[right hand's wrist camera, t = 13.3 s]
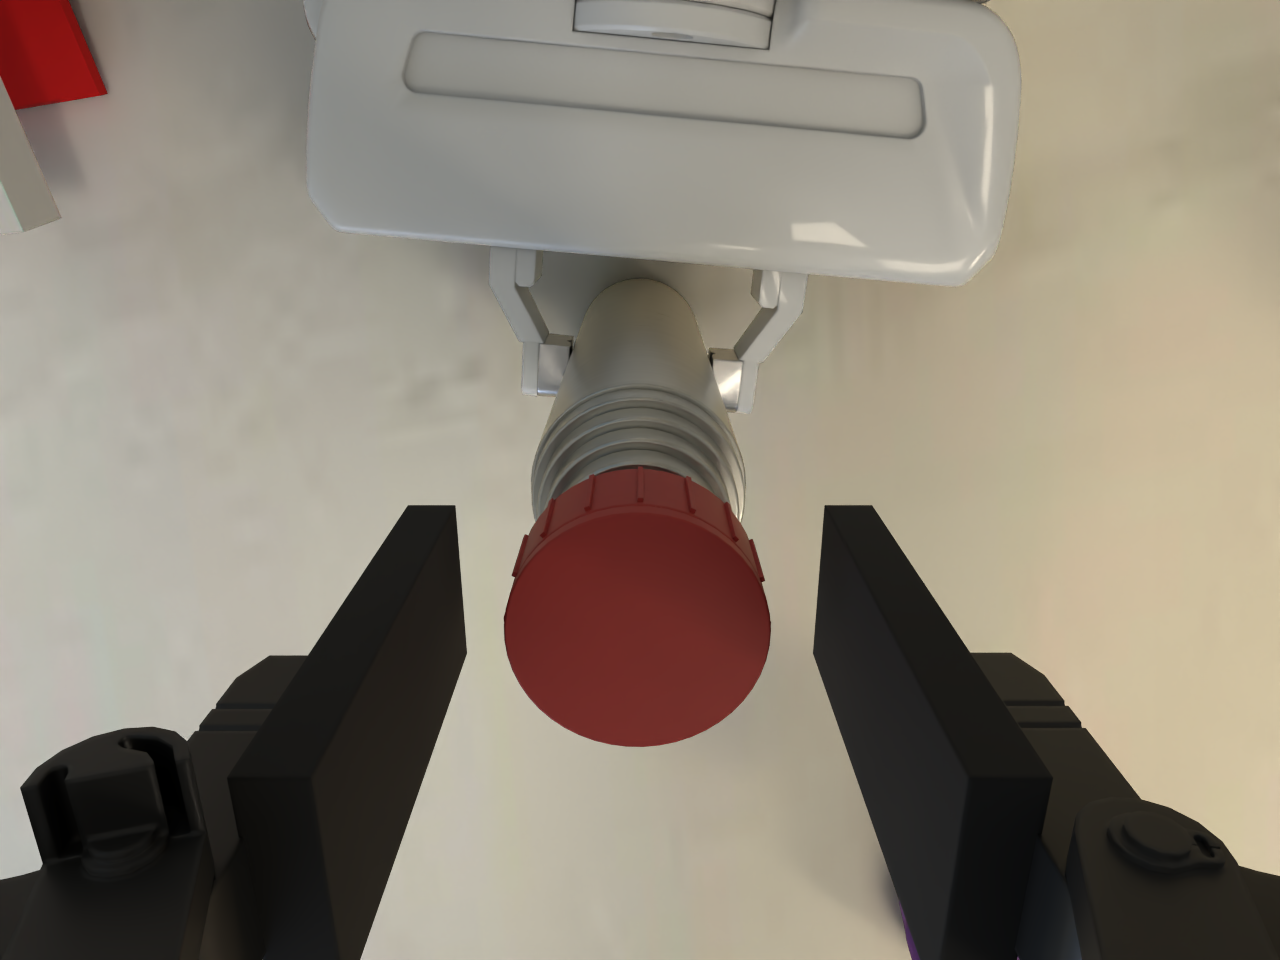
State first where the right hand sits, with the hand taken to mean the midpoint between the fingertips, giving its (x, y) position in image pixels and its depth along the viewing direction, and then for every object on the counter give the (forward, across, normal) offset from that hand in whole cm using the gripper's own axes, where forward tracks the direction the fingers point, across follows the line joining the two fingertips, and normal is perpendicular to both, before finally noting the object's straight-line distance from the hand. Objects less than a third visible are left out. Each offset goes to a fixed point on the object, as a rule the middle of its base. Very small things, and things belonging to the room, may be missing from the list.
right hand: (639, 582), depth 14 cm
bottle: (+21, 0, 0) cm, 21 cm away
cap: (-1, 0, 0) cm, 1 cm away
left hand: (+15, 0, -1) cm, 15 cm away
